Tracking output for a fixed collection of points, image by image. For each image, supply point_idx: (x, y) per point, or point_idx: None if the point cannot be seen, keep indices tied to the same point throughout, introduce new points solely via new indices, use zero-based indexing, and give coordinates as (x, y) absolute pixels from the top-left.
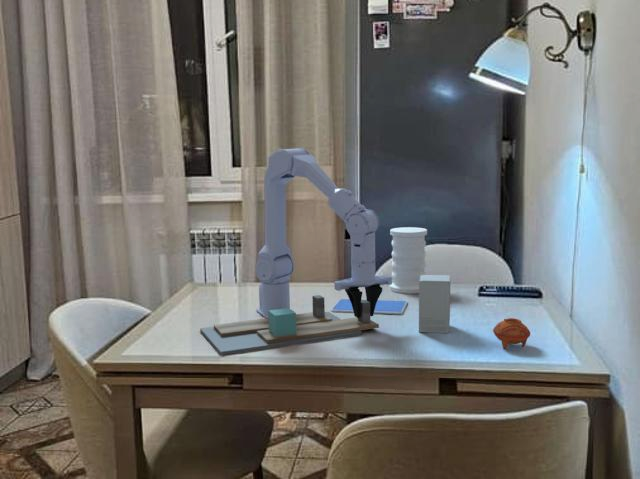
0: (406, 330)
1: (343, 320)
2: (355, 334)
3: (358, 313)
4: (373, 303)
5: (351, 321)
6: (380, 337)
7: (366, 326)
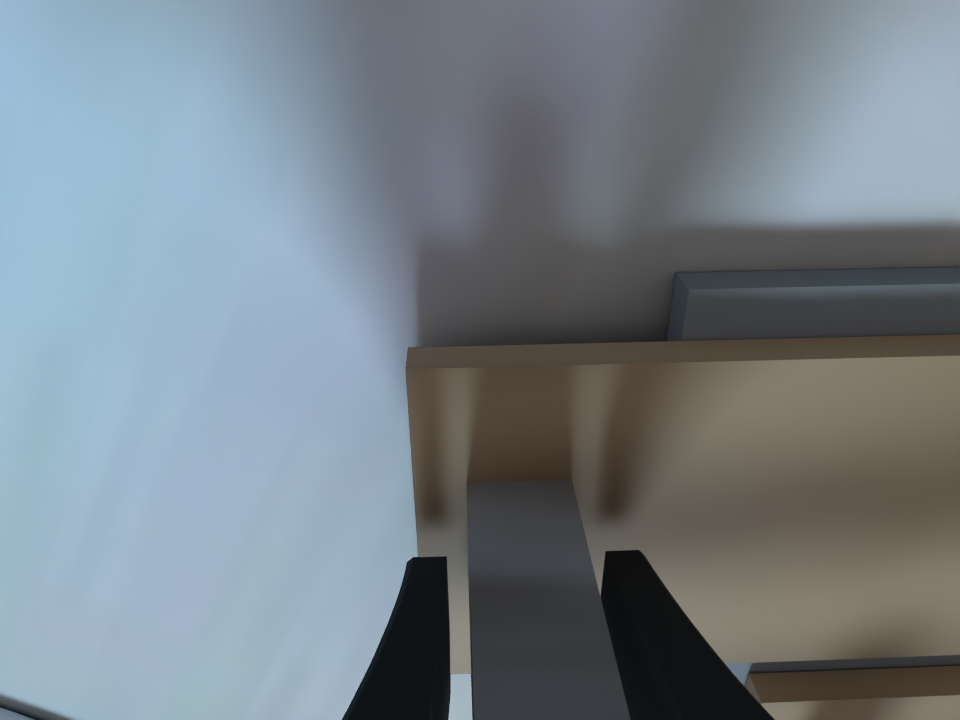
0: (42, 216)
1: None
2: (769, 279)
3: (663, 590)
4: (411, 708)
5: None
6: (513, 70)
7: (597, 361)
